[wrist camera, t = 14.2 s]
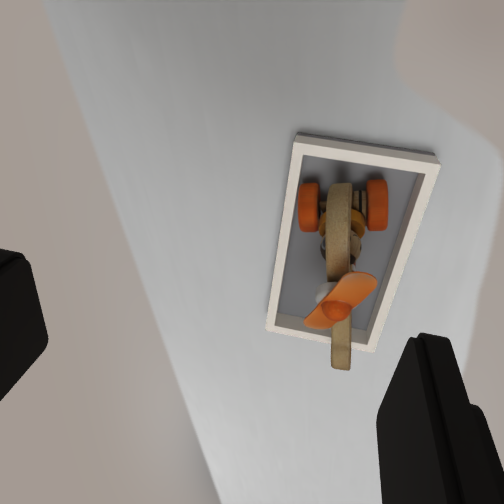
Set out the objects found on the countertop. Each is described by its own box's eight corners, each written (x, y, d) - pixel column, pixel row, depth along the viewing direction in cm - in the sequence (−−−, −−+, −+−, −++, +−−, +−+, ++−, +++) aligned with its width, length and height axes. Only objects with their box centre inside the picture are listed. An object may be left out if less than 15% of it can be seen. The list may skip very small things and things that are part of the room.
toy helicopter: (386, 161, 38) (404, 225, 27) (378, 329, 48) (389, 429, 37) (300, 165, 40) (282, 228, 28) (310, 327, 50) (299, 421, 39)
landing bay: (297, 132, 39) (293, 142, 36) (433, 153, 38) (441, 164, 35) (269, 312, 52) (265, 330, 49) (372, 333, 50) (373, 353, 47)
